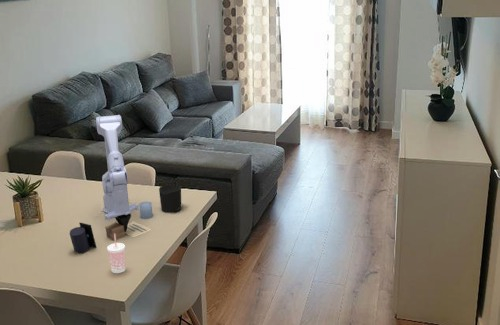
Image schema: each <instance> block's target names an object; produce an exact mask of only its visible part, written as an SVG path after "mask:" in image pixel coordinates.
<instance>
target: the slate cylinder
mask: <svg viewBox="0 0 500 325" xmlns="http://www.w3.org/2000/svg"><path fill="white" fill-rule="evenodd" d="M138 206H139V213H140V218H141V219H143V220H147V219H148V220H149V219H151V218H152V217H153V205H152V202H151V201H142V202H140V203H139V205H138Z"/></svg>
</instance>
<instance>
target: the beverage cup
mask: <svg viewBox="0 0 500 325" xmlns="http://www.w3.org/2000/svg"><path fill="white" fill-rule="evenodd" d="M114 239H115V241H114V243H111V244H109V245H107V247H106V250H107V253H108V257H109V262H110V267H111V268H110V269H111V272H112V273H114V274H120V273H123V272H125V271H126V258H125V257H126V255H125V254H126V253H125V251H126V250H125V249H126V245H125V244H124V243H122V242H117V240H116V235H115V233H114Z"/></svg>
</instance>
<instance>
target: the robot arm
mask: <svg viewBox="0 0 500 325" xmlns="http://www.w3.org/2000/svg"><path fill="white" fill-rule="evenodd" d="M95 123H96V130H97V133H98V135H101V136H102V137H103V138H104V146H105V154H106V155H105V156H106V163H107V171H106V172H105V173H104V174H103V175H102V176H101V178H102V179H101V180H102V181H101V183H102V189H103V195H102V198H103V210H102V212H104V213H106V214H105V215H104V219H105V221H106V222H108V221H111V220H113V219H115V220H116V222H117V223H119V224H121V225H123V226H124V232H126V231H127V226H128V224H129V223H130V219H132V214H131V212H134V211H138V210H140V205H138V204H136V203H134V204H130V202H129V201H130V200H129V193H128V192H129V191H128V184H129V177H128V176H129V175H128V171H127V169H126V166H125V162H124V157H123V153H121V152H120V151H119V139H118V135H120V134H121V133H122V132H121V131H122V130H123V120H122V116H121V115H120V114H117V115H105V116H104V115H103V116H97V117H96V118H95Z"/></svg>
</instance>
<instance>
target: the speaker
mask: <svg viewBox="0 0 500 325" xmlns="http://www.w3.org/2000/svg"><path fill="white" fill-rule="evenodd" d="M69 236H70V240H71V243H72V247H73V250H74V252H75V253H76V254H83V253H85V252H87V251H89V250H90V248H95V249H96V248H97V244H96V243H97V242H96V239H95V237H94V232H93V228H92V225H91V224H88V223H83V222H79V226H77V227H74V228H72V229H70V230H69Z"/></svg>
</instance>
